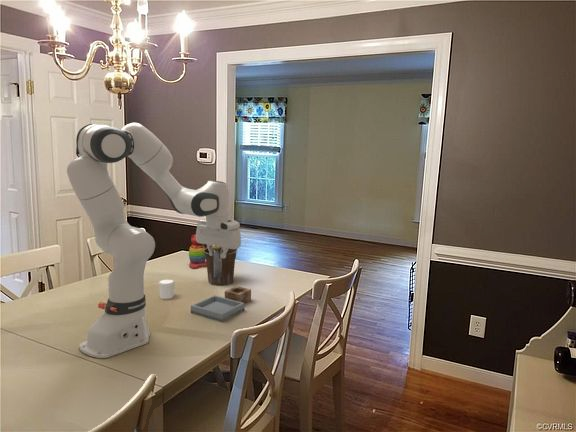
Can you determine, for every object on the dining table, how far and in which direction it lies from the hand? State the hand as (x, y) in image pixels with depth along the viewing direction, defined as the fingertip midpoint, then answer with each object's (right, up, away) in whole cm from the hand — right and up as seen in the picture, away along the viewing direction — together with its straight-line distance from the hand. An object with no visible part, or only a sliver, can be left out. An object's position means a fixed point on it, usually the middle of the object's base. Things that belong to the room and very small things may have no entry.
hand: (217, 256), depth 160 cm
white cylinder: (-25, -20, +18) cm, 37 cm away
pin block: (+6, -21, +15) cm, 26 cm away
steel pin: (0, -8, +1) cm, 8 cm away
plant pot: (-5, -16, +40) cm, 43 cm away
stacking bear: (-22, -12, +66) cm, 70 cm away
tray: (0, -22, +4) cm, 23 cm away
